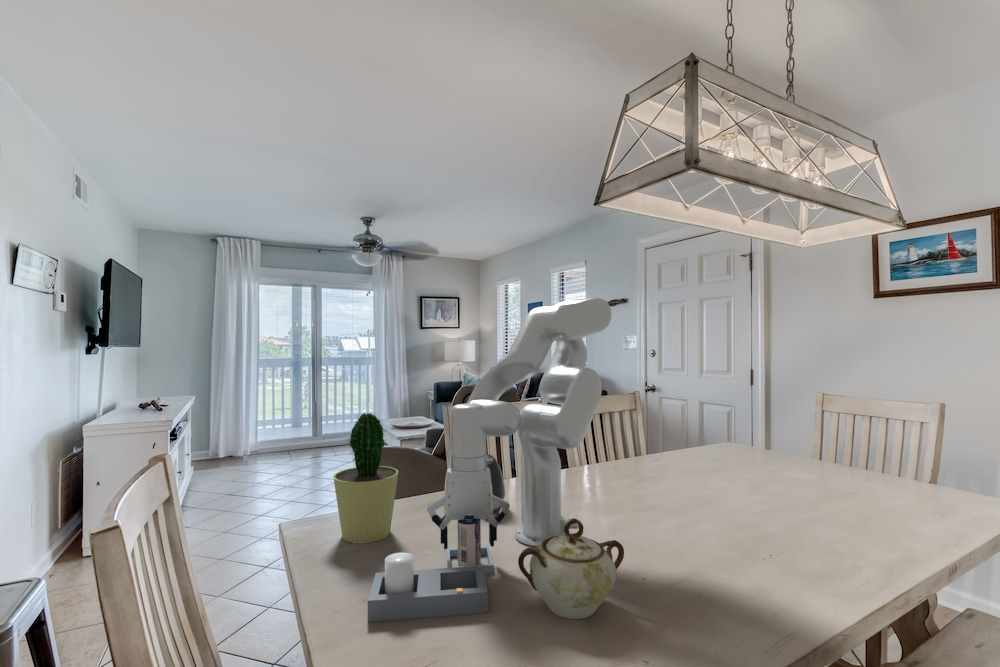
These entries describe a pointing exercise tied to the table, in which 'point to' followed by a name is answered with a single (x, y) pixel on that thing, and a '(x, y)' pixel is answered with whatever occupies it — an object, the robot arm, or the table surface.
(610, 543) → the sugar bowl
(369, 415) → the potted cactus
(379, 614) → the two-slot holder block
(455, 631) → the table surface
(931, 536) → the table surface
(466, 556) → the beer can
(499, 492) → the pump dispenser
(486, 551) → the hollow square frame
